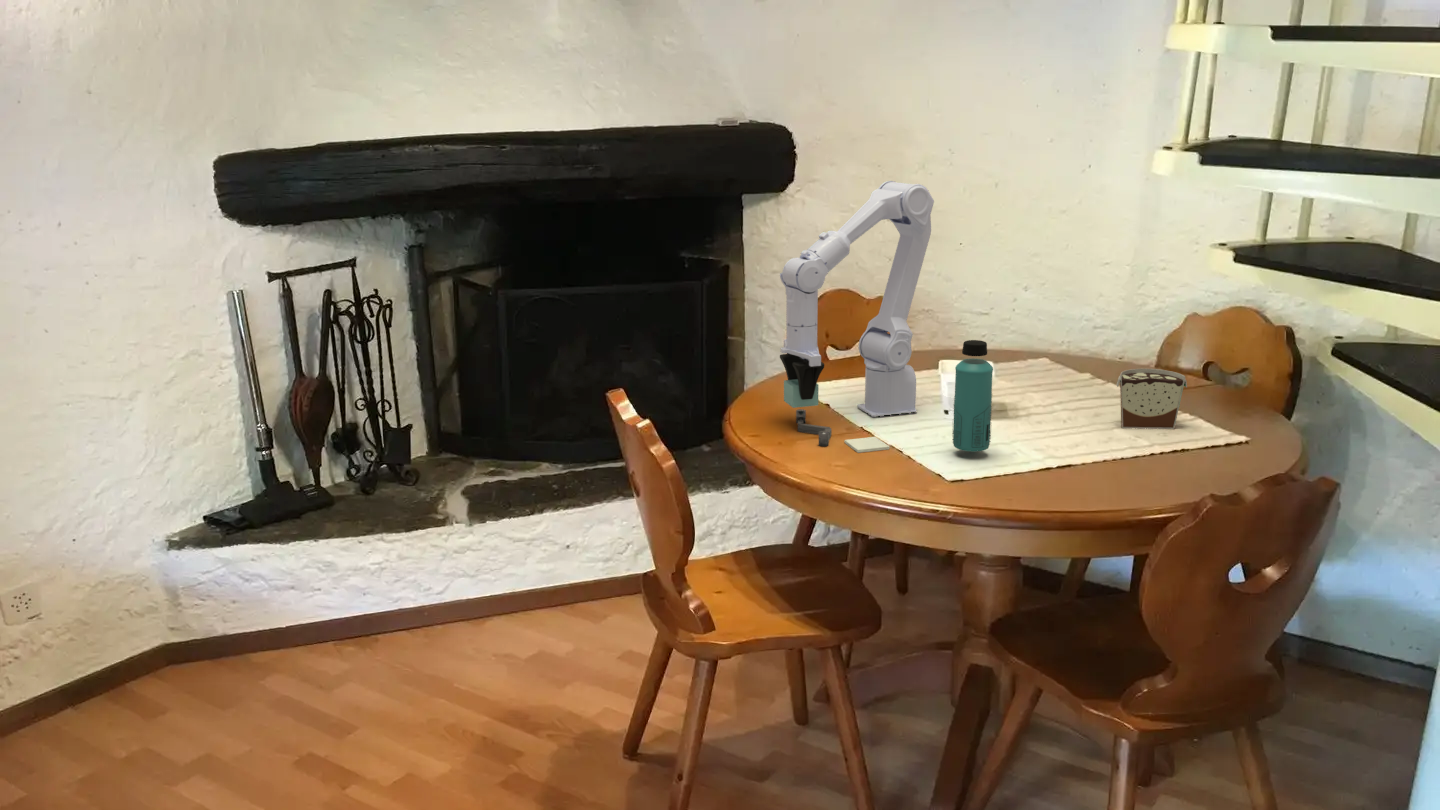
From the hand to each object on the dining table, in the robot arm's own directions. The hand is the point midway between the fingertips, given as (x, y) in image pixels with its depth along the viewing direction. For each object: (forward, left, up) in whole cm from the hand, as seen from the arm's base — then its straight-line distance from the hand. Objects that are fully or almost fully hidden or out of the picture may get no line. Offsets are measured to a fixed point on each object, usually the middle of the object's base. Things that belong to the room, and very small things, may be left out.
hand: (801, 395), depth 208 cm
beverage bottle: (-22, +25, -6) cm, 34 cm away
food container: (-61, +20, -6) cm, 64 cm away
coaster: (-7, +15, -6) cm, 18 cm away
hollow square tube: (0, 0, -2) cm, 2 cm away
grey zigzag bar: (0, +5, -6) cm, 8 cm away
